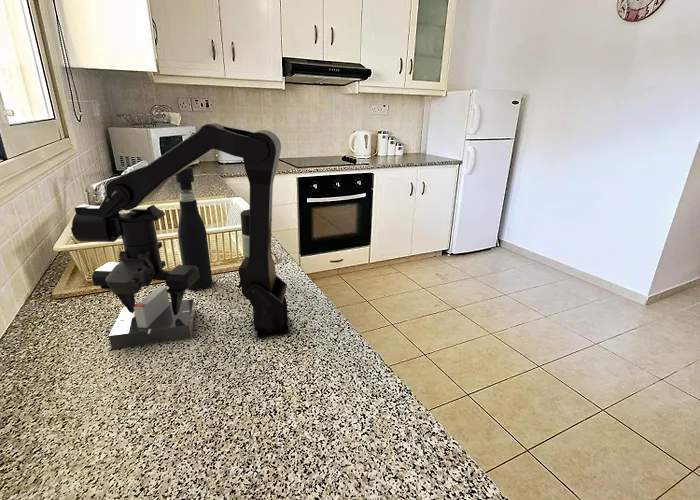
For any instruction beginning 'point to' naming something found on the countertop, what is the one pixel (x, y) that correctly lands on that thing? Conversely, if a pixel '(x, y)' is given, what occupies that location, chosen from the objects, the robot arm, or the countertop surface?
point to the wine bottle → (193, 232)
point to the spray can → (245, 231)
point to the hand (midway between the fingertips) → (154, 313)
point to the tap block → (153, 327)
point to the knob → (151, 306)
